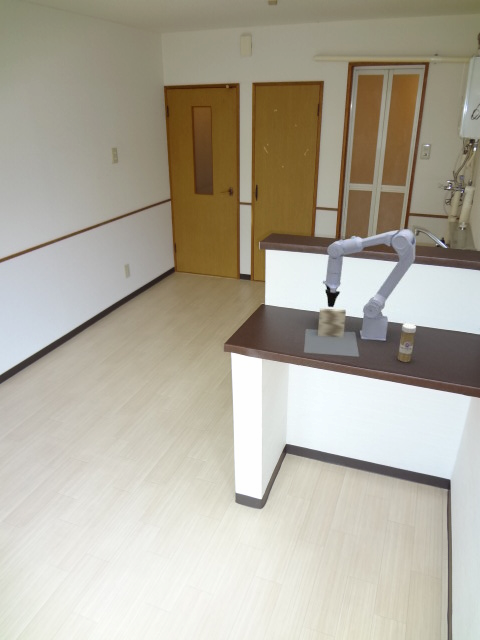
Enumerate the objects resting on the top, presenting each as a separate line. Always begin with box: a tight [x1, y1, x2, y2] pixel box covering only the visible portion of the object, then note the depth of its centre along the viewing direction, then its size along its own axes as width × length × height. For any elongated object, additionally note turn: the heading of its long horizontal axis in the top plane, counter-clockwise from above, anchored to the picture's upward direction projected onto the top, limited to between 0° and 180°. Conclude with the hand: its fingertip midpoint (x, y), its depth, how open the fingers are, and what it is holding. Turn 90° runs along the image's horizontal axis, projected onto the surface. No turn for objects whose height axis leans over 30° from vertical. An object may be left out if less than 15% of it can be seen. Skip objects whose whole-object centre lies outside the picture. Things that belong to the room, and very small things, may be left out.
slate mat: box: [303, 328, 360, 358], centre depth 178 cm, size 20×22×1 cm
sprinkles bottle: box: [397, 323, 417, 363], centre depth 163 cm, size 5×5×13 cm
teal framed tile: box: [317, 308, 347, 337], centre depth 182 cm, size 10×2×11 cm, turn 81°
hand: (330, 303), depth 188 cm, fingers open, 7 cm apart
